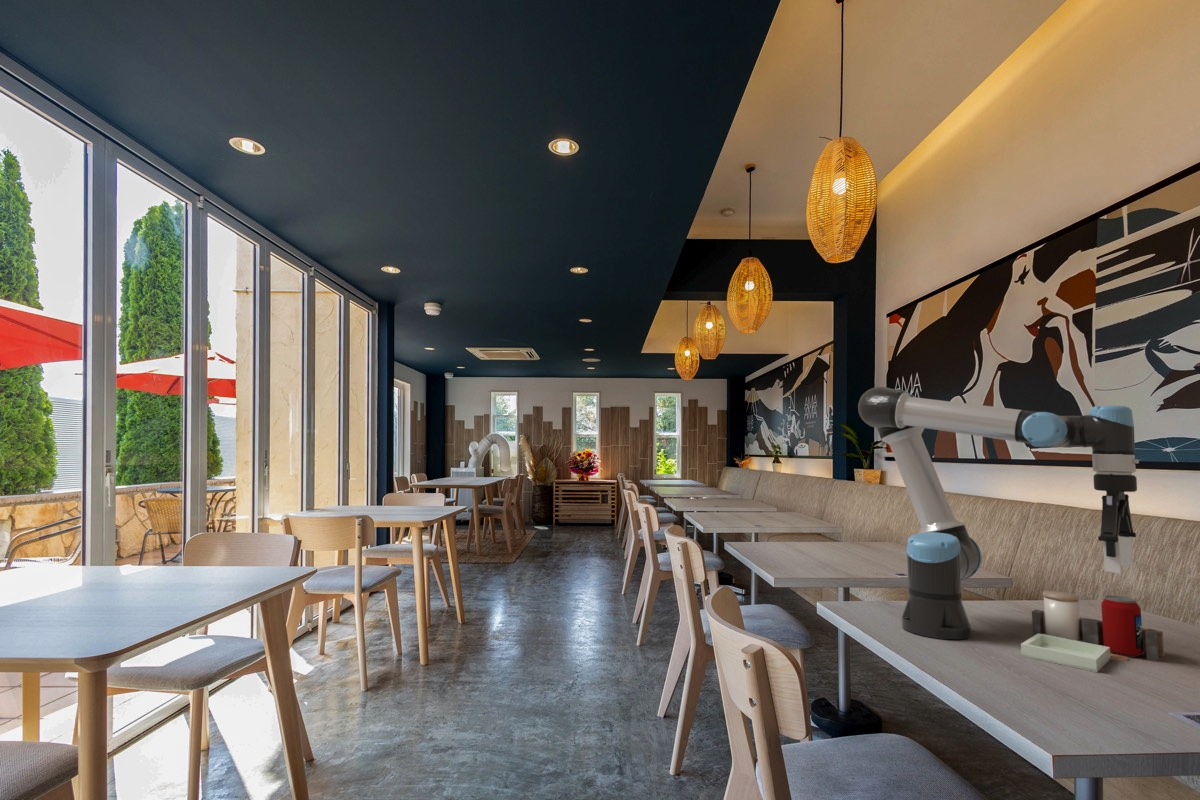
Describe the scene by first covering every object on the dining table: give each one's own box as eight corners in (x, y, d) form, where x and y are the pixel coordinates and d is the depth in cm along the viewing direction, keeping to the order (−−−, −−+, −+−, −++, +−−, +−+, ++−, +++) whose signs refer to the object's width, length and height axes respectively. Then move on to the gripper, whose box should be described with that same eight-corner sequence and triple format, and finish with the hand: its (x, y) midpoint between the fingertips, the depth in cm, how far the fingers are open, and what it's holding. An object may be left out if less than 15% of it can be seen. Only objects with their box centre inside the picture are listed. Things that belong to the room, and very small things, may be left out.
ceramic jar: (1041, 640, 144) (1039, 593, 145) (1049, 635, 149) (1047, 589, 150) (1077, 647, 139) (1074, 598, 140) (1084, 642, 144) (1081, 594, 145)
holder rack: (1025, 639, 145) (1024, 613, 145) (1040, 630, 153) (1038, 606, 153) (1155, 666, 128) (1153, 636, 128) (1164, 654, 135) (1162, 626, 136)
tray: (1021, 655, 133) (1020, 644, 133) (1038, 644, 142) (1038, 633, 142) (1096, 672, 123) (1096, 659, 124) (1110, 659, 132) (1109, 647, 132)
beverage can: (1151, 659, 132) (1147, 602, 133) (1115, 657, 133) (1112, 600, 134) (1131, 649, 138) (1127, 595, 140) (1097, 647, 140) (1094, 593, 141)
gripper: (1124, 474, 128) (1130, 578, 126) (1145, 473, 144) (1151, 565, 143) (1080, 473, 134) (1084, 572, 132) (1105, 472, 150) (1109, 560, 148)
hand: (1119, 568), depth 137 cm, fingers open, 13 cm apart
